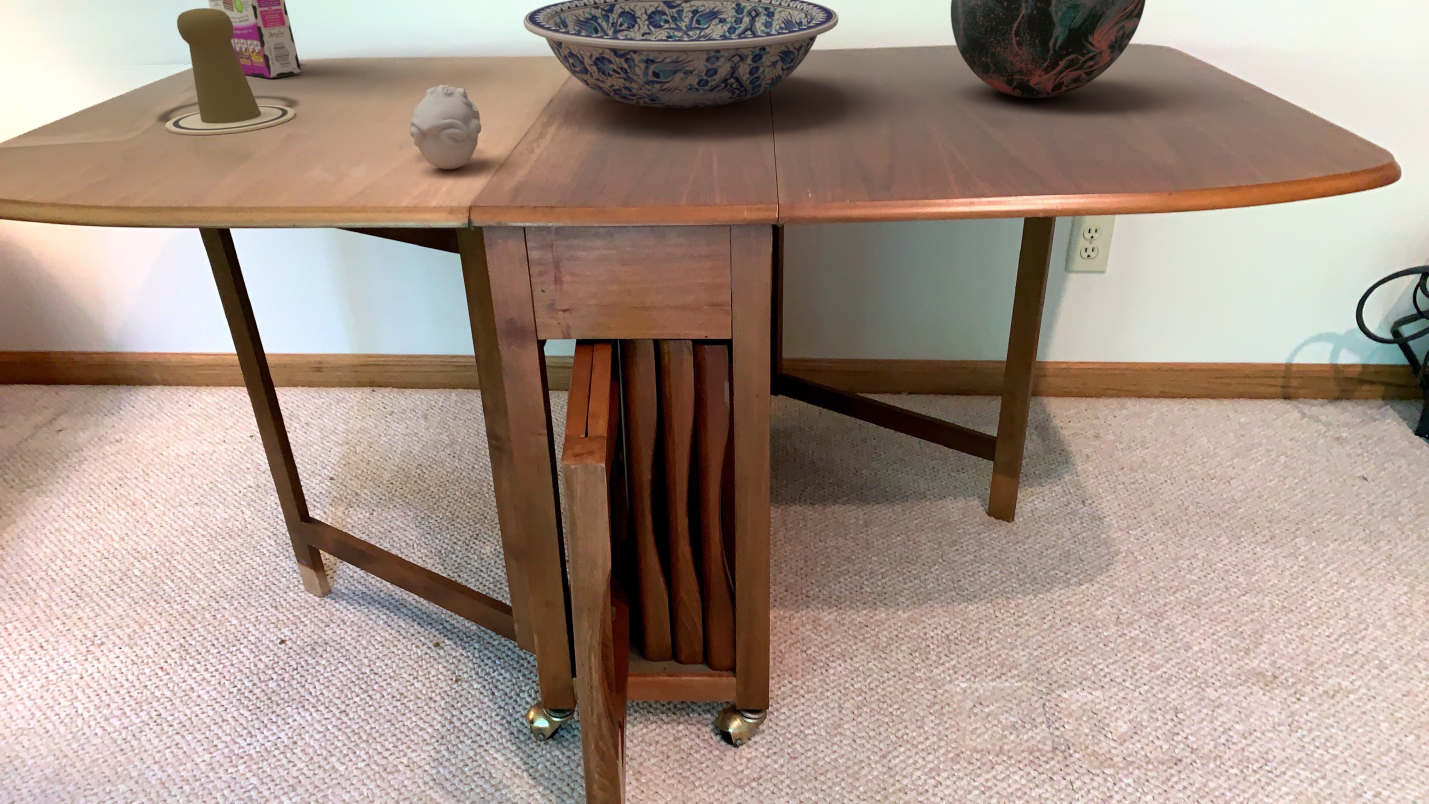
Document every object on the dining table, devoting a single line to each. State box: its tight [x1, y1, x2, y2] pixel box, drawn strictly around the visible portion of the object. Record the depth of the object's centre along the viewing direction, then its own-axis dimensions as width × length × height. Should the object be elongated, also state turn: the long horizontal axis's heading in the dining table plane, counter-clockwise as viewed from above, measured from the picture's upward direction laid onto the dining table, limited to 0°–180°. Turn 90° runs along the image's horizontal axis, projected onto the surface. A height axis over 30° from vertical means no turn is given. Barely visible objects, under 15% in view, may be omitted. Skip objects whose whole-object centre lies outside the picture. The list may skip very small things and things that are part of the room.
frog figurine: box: [409, 84, 482, 170], centre depth 79 cm, size 6×7×7 cm
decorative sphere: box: [950, 0, 1146, 99], centre depth 97 cm, size 20×20×20 cm
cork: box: [176, 7, 261, 124], centre depth 96 cm, size 6×6×11 cm
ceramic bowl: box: [523, 0, 839, 109], centre depth 100 cm, size 34×34×10 cm
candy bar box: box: [207, 0, 302, 79], centre depth 119 cm, size 11×5×16 cm, turn 55°
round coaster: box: [165, 104, 296, 136], centre depth 98 cm, size 13×13×1 cm
